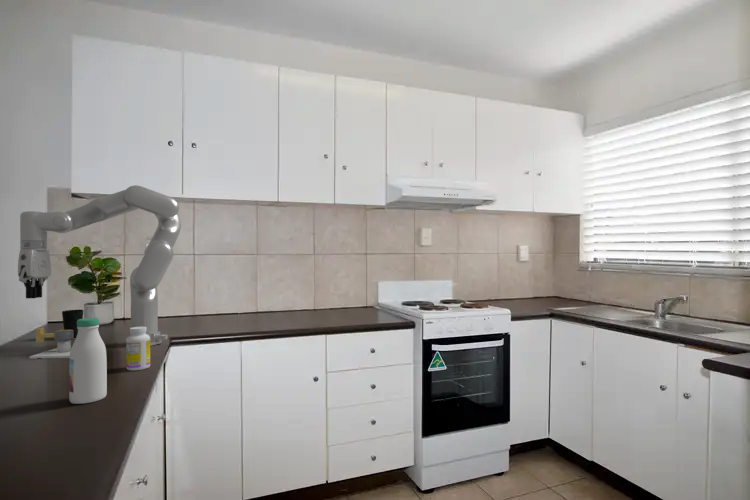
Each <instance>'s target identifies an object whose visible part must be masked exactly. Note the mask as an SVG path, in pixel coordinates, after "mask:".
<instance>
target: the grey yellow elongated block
mask: <svg viewBox="0 0 750 500" xmlns="http://www.w3.org/2000/svg"><path fill="white" fill-rule="evenodd" d="M45 338H53V339H54V341H56V342H57V341H62V340H70V339H71V340H74V339H73V330H64V329H59V330H56V331H54V333H52V332H51V333H45V329H44V327H37V328H35V343H42V342H45Z"/></svg>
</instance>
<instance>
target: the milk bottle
mask: <svg viewBox="0 0 750 500" xmlns="http://www.w3.org/2000/svg"><path fill="white" fill-rule="evenodd" d="M99 328H100V319H99V318H98V317H88V318H87V317H85V318H84V317H83V319H79V320H77V329H78V334H77V337H76V339H74V342H73V344H72V345H71V347H72V348H71V351H70V358H68V359H69V360H68V361H69V363H68V364H69V365H68V366H69V367H68V368H69V369H68V379H69V380H68V383H69V384H68V386H69V388H68V389H69V390H68V397H69V399H68V400H69V402H70V403H71V404H73V405H74V404H75V405H78V404H79V405H80V404H83V405H84V404H89V403H90V404H91V403H94V402H98V401H100V400H103V399H104V398H106V397H107V396H108V395H107V394H108V391H107V389H108V387H107V384H108V381H107V380H108V378H107V377H108V375H107V374H108V373H107V371H108V370H107V369H108V366H107V365H108V362H107V348H106V344H105V343H104V341H103V339H102V337H101V335H100V332H99Z"/></svg>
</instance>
